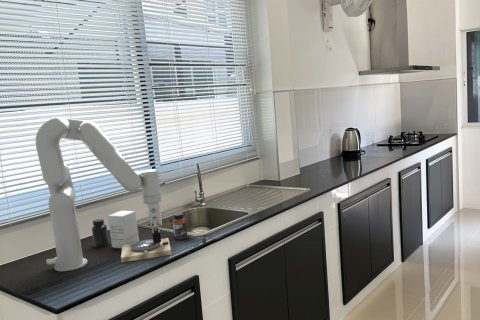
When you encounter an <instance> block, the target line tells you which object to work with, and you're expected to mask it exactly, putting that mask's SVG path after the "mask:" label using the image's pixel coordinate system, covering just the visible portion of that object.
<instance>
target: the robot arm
mask: <svg viewBox="0 0 480 320" xmlns="http://www.w3.org/2000/svg"><path fill="white" fill-rule="evenodd" d="M61 139H64V140H65V139H66V140H71V141H72V140H74V141H81V142H82V143H83V144H84V145H85V146H86V148H87V149H88V150H90V153H92V155H93V156H94V157H95V158H96V159H97V160H98V161H99V163H101V165H102V166H104V168H106V170H107V171H108V172H109V173H110V174H111V175H112V176H113V177H114V179H115V180H116V181H117V182H118V183H119V184H120V185H121V187H122V188H123V189H124V190H125V191H127V192H131V193H134V192H137V191H138V190H140V189H141V193H142V202H143V204H144V205H146V211H147V216H148V221H149V226H150V227H151V231H152V230H153V233H151V234H152V240H153V242H154V243H156V242H161V239H162V237H161V231H160V232H159V229H160V226H161V227H162V225H163V222H162V214H161V213H162V211H161V206H160V203H161V202H162V195H161V187H160V178H159V177H160V176H159V171H158V169H154V168H153V169H151V168H149V169H144V170H134V169H133V168H132V167H131V166H130V164H129V163H128V162H127V161H126V159H125V158H124V157H123V155H122V154H121V152H120V151H119V149H118V148H117V147H116V146H115V144H114V143H113V142H112V141H111V140H110V139H109V138H108V136H107V135H106V134H105V133H104V131H102V130H101V128H100V127H99V126H98V125H97V124H96V123H95V122H94V121H89V120H88V121H87V120H79V119H74V118H73V119H72V118H68V117H67V118H65V117H61V116H60V117H59V116H57V117H56V116H54V117H52V118H50V119H48V120H47V121H45V122H44V123H43V124H42V125H41V126H40V127H39V129H38V131H37V133H36V136H35V147H36V153H37V156H38V161H39V165H40V169H41V174H42V179H43V181H44V183H45V184H47V186H48V187H47V189H48V191H49V194H50V196H49V198H48V204H47V205H48V211H49V215H50V219H51V227H52V232H53V238H54V246H55V251H56V256H55V257H54V258H48V259H46V260H45V261H46V262H45V263H46V265H48V266H51V265H52V266H53V265H54V270H55V271H57V272H71V271H74V270H78V269H80V268H83V267H85V266H86V265H88V263H89V261H88V259H87V258H85V257H84V256H83V249H82V243H81V242H82V241H81V235H80V228H79V221H78V216H77V215H78V214H77V209H76V191H75V187H74V184H73V179H72V175H71V172H70V169H69V166H68V165H67V164H66V163H65V162H64V157H63V154H62V150H61V147H60V142H61Z"/></svg>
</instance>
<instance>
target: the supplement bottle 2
mask: <svg viewBox="0 0 480 320" xmlns="http://www.w3.org/2000/svg"><path fill="white" fill-rule="evenodd" d="M173 216H174V218H173V219H172V227H173V232H174V233H173V235H174V239H176V240H184V239H187V238H188V229H187V220H186V217H184V213H182V212H179V213H174V214H173Z"/></svg>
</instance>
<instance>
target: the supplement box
mask: <svg viewBox="0 0 480 320" xmlns="http://www.w3.org/2000/svg"><path fill="white" fill-rule="evenodd" d="M107 220H108V226H109V227H108V228H109V235H110V240H111V241H110V243H111V248H112V247H113V248H114V249H122V245H126V244H132V243H136V242H139V241H140V237H139V229H138V223H137V222H138V221H137V214H136V211H135V210H119V211H116V212H114V213H112V214H109V215H107ZM113 248H112V249H113Z"/></svg>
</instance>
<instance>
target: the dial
mask: <svg viewBox="0 0 480 320" xmlns="http://www.w3.org/2000/svg"><path fill="white" fill-rule="evenodd" d="M151 232H152V233H153V230H152V229H151ZM159 232H160V233H161V229H160V228H159ZM152 233H151V234H152ZM159 246H160V242H156V243H154V242H153V239H144V240H139V242H136V243H134V244H132V245H131V249H132V250H133V251H144V250H147V251H148V250H152V249H155V248H157V247H159Z"/></svg>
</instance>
